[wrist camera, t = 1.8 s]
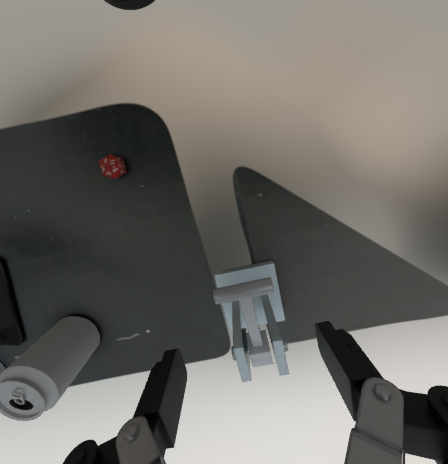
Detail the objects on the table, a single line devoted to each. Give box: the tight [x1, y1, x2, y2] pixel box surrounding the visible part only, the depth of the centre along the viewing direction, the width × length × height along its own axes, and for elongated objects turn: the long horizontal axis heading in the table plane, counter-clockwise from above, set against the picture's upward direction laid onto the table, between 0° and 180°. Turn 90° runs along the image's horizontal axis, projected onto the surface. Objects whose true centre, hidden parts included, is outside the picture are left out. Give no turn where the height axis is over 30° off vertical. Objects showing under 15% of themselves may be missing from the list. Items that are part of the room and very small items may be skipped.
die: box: [99, 154, 127, 179], centre depth 29 cm, size 3×3×3 cm
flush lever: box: [213, 277, 274, 367], centre depth 22 cm, size 12×5×2 cm, turn 14°
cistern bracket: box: [214, 260, 289, 382], centre depth 29 cm, size 10×9×13 cm
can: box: [0, 316, 100, 421], centre depth 32 cm, size 8×8×12 cm
